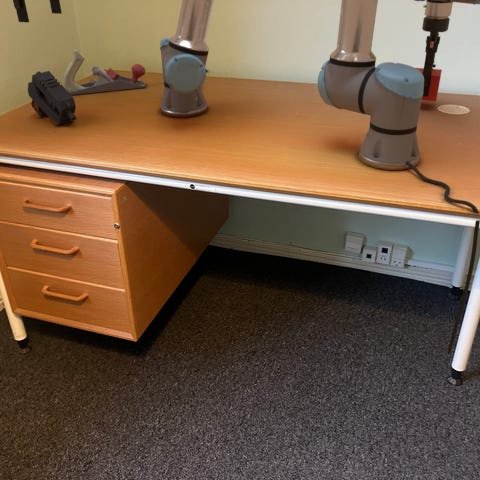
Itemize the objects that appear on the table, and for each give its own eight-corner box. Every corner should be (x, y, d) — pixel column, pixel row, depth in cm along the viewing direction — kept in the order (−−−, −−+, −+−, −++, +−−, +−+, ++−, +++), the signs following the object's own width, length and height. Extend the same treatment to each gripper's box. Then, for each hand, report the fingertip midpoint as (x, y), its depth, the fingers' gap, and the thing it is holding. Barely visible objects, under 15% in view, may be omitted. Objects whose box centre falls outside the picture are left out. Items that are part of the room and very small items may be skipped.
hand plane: (62, 90, 197) (53, 48, 189) (145, 82, 205) (140, 41, 197) (62, 96, 191) (54, 53, 184) (148, 87, 199) (143, 45, 191)
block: (411, 92, 177) (415, 67, 173) (437, 94, 175) (441, 69, 171) (409, 99, 171) (412, 73, 167) (436, 101, 169) (440, 75, 164)
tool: (41, 101, 176) (45, 64, 165) (76, 140, 172) (84, 104, 161) (24, 106, 172) (28, 69, 162) (60, 145, 168) (67, 110, 157)
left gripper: (42, -76, 142) (58, 9, 153) (-28, -73, 122) (-4, 25, 134) (65, -77, 140) (80, 10, 151) (-2, -73, 120) (21, 26, 131)
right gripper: (426, 10, 169) (415, 82, 182) (421, 22, 153) (409, 100, 165) (451, 11, 167) (438, 84, 179) (448, 23, 151) (434, 102, 163)
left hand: (41, 17), depth 142 cm, fingers open, 13 cm apart
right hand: (424, 91), depth 172 cm, fingers closed on block, 8 cm apart
